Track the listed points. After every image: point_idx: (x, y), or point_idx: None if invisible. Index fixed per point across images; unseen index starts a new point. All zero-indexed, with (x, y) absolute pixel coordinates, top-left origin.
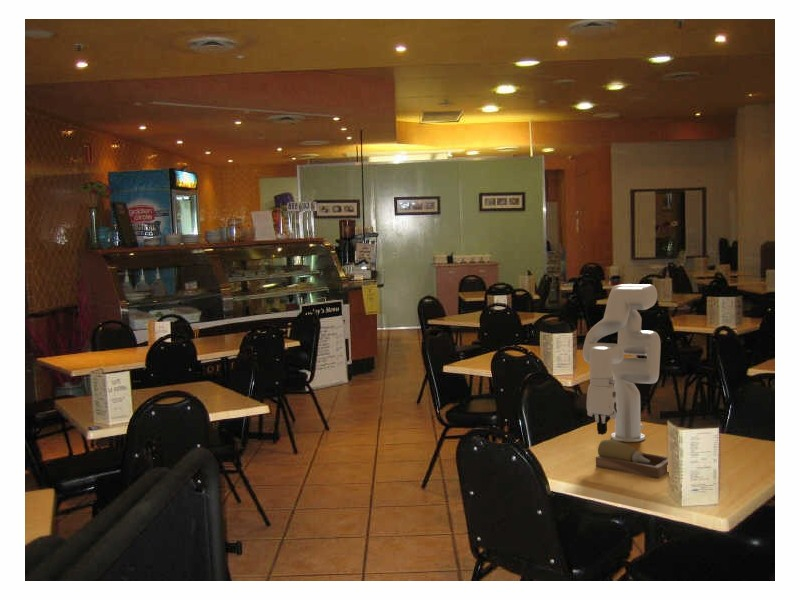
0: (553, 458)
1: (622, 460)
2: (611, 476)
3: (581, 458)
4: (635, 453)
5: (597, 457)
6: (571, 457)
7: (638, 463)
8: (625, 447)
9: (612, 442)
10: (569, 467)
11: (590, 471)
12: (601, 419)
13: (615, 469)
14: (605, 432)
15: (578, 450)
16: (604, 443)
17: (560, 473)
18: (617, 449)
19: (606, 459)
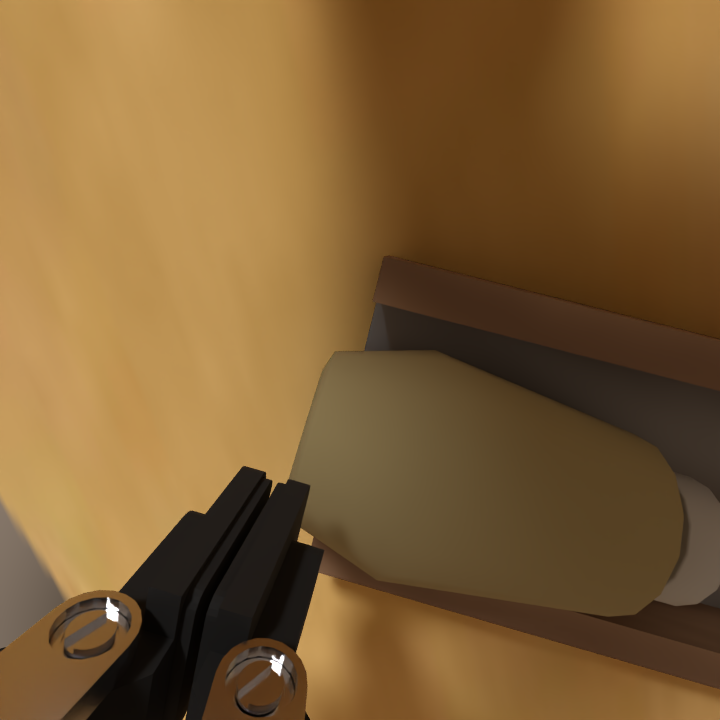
0: (7, 420)
1: (530, 605)
2: (459, 666)
3: (170, 359)
4: (671, 597)
5: (321, 572)
6: (99, 358)
7: (671, 650)
8: (582, 597)
9: (431, 570)
10: None
11: (315, 609)
12: (118, 686)
13: None
14: (302, 512)
15: (68, 145)
16: (340, 548)
17: None
18: (492, 596)
19: (398, 591)
